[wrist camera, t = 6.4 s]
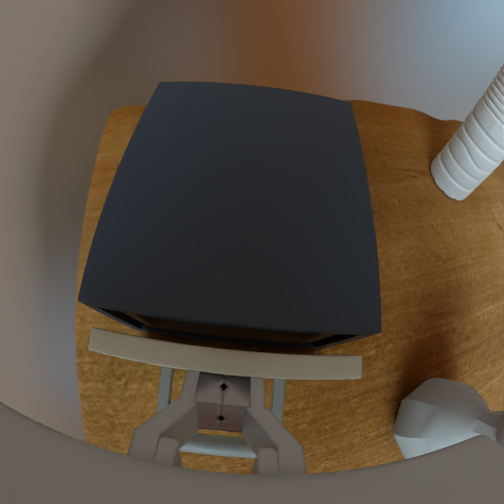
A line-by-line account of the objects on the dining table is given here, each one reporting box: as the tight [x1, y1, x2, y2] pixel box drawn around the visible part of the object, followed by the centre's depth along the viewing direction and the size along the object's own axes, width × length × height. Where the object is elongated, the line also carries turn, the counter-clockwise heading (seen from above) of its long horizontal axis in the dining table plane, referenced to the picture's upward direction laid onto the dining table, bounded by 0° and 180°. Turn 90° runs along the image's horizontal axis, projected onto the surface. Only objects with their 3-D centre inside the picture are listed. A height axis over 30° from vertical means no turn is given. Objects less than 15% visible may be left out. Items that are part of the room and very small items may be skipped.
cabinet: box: [78, 82, 381, 349], centre depth 20 cm, size 17×15×10 cm
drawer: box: [89, 312, 362, 458], centre depth 18 cm, size 20×13×8 cm, turn 175°
